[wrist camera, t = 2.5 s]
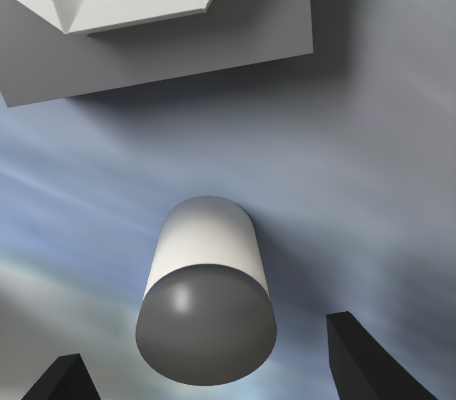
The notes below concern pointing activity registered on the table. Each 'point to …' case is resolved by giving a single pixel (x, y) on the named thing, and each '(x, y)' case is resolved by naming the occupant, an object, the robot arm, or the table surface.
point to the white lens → (206, 297)
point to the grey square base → (138, 42)
